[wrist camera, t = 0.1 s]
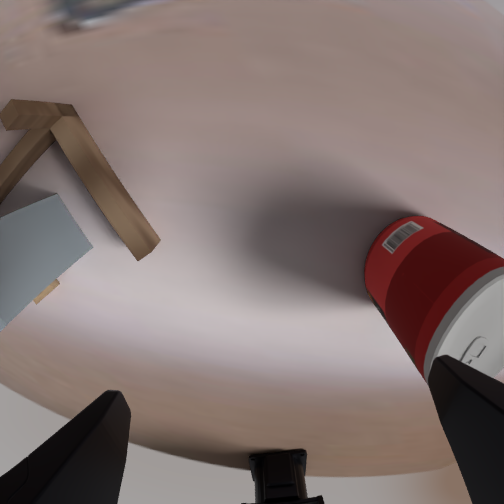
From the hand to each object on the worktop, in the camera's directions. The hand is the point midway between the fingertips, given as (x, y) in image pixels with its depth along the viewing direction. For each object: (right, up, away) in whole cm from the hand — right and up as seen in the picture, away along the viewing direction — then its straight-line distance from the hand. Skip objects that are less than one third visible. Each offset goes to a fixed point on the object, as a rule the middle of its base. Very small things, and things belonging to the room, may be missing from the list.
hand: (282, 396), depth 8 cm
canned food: (+11, +3, +15) cm, 19 cm away
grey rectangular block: (-15, +5, +13) cm, 21 cm away
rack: (-16, +6, +13) cm, 21 cm away
